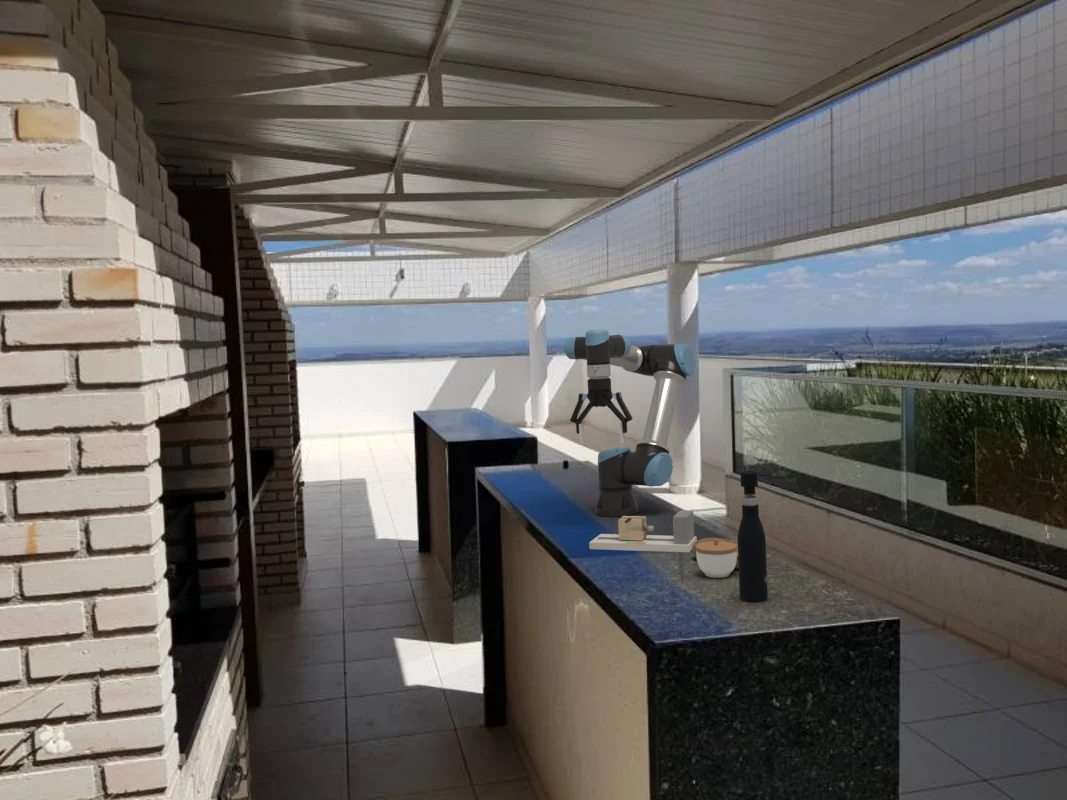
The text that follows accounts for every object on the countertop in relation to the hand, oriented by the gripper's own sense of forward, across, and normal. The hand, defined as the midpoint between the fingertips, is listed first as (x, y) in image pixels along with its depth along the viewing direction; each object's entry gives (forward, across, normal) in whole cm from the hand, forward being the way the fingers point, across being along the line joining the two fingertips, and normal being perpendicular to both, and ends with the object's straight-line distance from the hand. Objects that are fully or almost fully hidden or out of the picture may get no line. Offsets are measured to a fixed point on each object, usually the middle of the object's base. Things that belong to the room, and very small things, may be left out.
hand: (602, 443), depth 300 cm
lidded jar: (+29, +44, -48) cm, 71 cm away
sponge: (+29, +44, -35) cm, 63 cm away
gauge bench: (+29, +17, -19) cm, 38 cm away
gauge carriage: (+26, +15, -21) cm, 37 cm away
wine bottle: (+29, +56, -68) cm, 93 cm away
